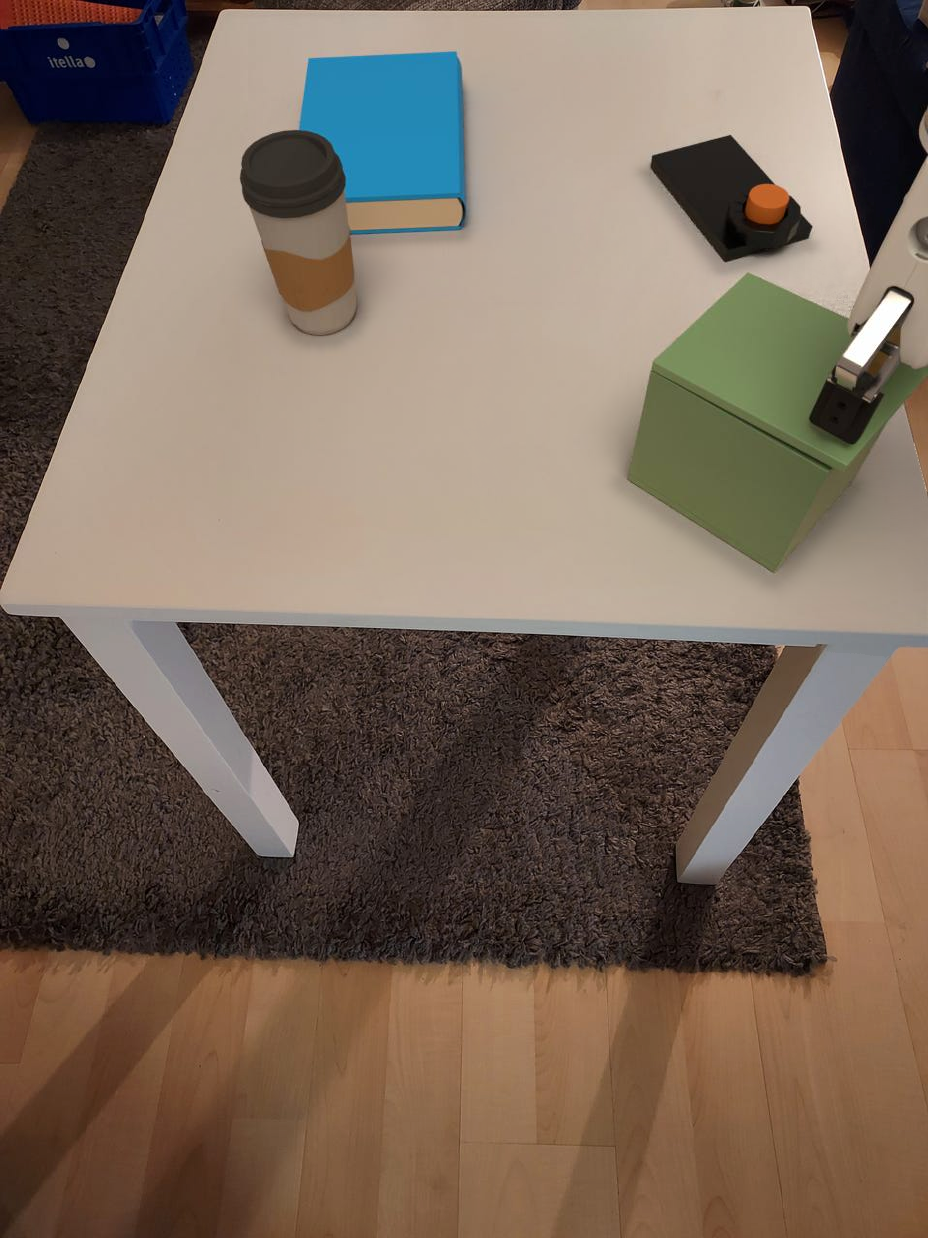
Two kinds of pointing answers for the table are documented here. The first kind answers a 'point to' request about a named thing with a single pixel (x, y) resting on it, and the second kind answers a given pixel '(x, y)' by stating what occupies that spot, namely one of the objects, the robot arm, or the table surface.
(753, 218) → the button
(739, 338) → the lid
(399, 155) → the book
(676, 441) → the chest
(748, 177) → the button housing
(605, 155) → the table surface
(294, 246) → the coffee cup
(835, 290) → the table surface
